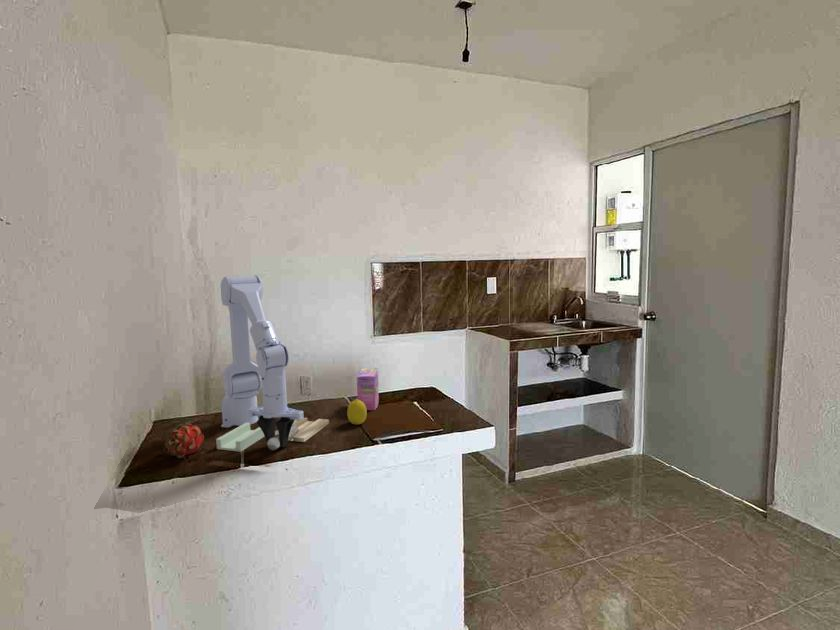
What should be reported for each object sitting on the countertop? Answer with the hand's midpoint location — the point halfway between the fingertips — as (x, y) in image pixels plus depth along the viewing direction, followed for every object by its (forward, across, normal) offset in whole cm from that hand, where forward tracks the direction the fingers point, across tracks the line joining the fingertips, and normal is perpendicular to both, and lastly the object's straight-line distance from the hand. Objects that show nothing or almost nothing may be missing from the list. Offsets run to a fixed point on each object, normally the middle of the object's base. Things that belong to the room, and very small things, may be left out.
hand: (277, 445), depth 119 cm
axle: (0, 0, +3) cm, 3 cm away
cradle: (+1, -11, +1) cm, 11 cm away
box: (+2, +10, +36) cm, 38 cm away
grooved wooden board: (+1, 0, +11) cm, 11 cm away
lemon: (+2, +13, +20) cm, 24 cm away
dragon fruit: (+2, -22, -7) cm, 23 cm away
